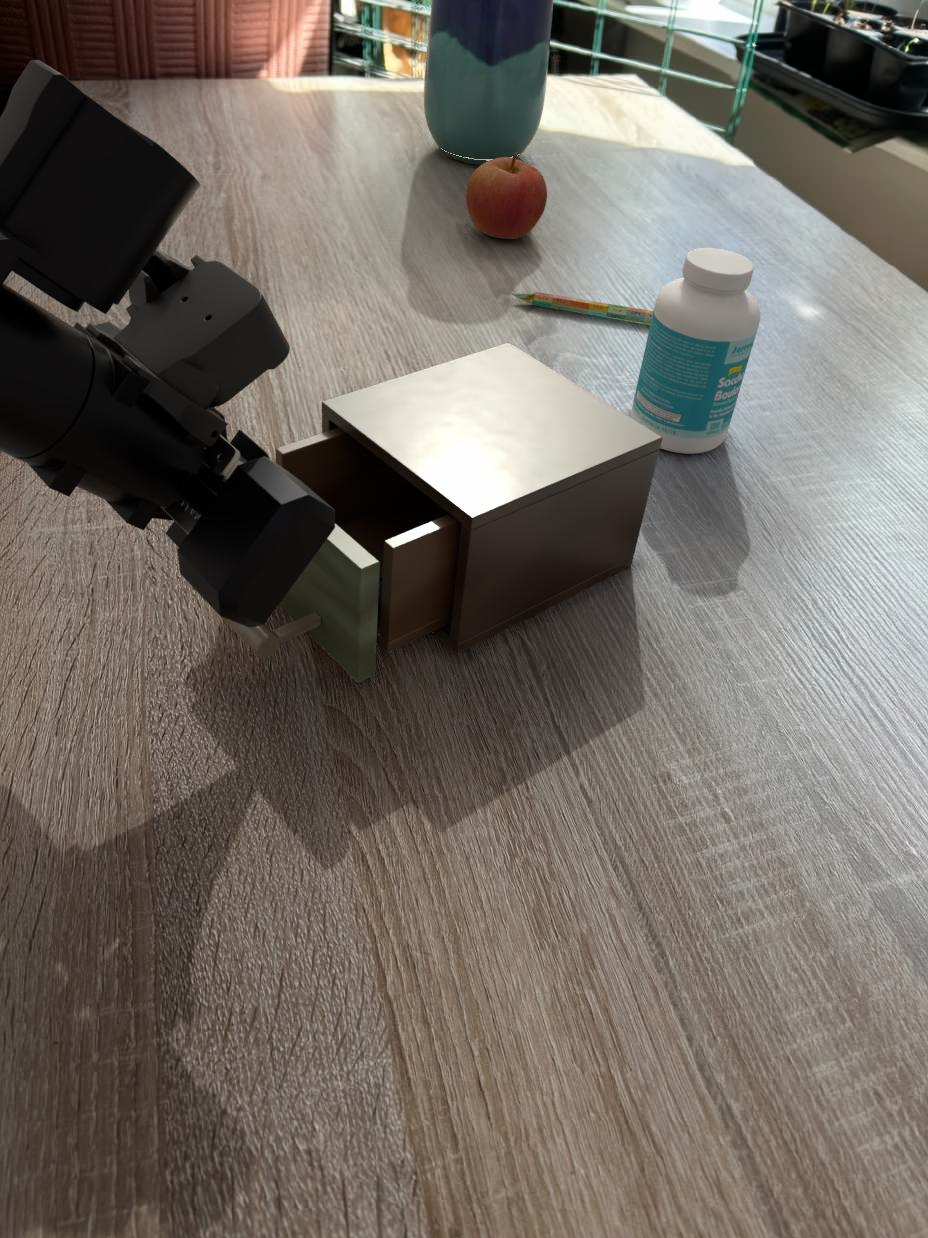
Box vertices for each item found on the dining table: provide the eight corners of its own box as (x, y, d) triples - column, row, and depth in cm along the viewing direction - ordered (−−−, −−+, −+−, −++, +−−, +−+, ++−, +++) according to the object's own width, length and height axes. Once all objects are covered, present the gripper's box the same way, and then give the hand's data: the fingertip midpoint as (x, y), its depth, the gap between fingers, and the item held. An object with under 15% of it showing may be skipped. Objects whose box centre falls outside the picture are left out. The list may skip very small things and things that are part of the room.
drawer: (292, 716, 55) (289, 600, 49) (173, 587, 61) (160, 474, 56) (541, 593, 64) (560, 485, 59) (414, 493, 71) (421, 388, 65)
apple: (543, 224, 111) (553, 144, 106) (539, 253, 105) (551, 170, 100) (466, 214, 111) (474, 134, 106) (459, 243, 105) (466, 160, 100)
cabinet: (456, 655, 60) (472, 518, 54) (321, 534, 68) (321, 401, 62) (631, 566, 68) (663, 437, 62) (493, 466, 75) (508, 341, 69)
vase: (396, 151, 124) (410, -182, 104) (464, 127, 133) (489, -184, 113) (495, 183, 119) (530, -161, 98) (558, 156, 128) (603, -165, 107)
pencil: (509, 303, 96) (709, 336, 94) (511, 291, 95) (712, 324, 93) (512, 297, 97) (709, 330, 95) (513, 285, 96) (712, 318, 94)
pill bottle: (717, 468, 78) (767, 292, 69) (619, 443, 79) (656, 268, 70) (731, 420, 83) (779, 252, 75) (639, 398, 85) (676, 230, 76)
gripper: (289, 318, 37) (496, 485, 50) (56, 150, 47) (279, 325, 60) (105, 576, 38) (356, 673, 51) (-84, 358, 48) (165, 485, 61)
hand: (286, 523), depth 55 cm, fingers closed, pressing on drawer
